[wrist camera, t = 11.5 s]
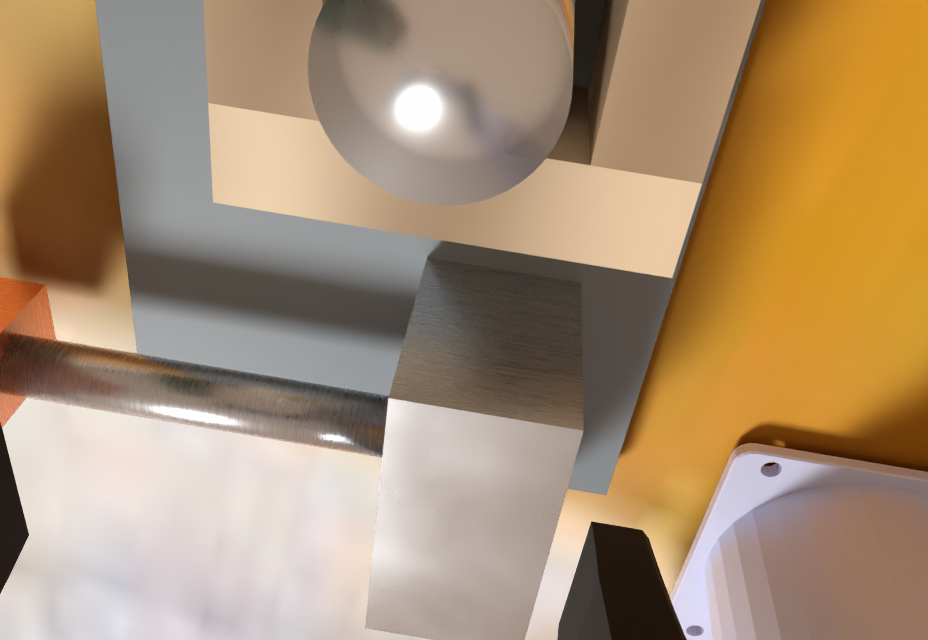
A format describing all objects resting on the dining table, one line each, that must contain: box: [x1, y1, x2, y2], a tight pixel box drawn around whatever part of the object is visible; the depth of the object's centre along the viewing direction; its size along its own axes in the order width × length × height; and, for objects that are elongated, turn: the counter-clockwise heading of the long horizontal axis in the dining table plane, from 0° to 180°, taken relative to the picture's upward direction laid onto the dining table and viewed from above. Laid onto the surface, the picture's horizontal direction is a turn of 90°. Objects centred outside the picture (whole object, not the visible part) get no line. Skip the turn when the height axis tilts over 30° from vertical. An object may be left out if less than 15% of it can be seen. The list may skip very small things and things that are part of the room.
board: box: [95, 0, 766, 495], centre depth 18 cm, size 12×18×1 cm
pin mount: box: [365, 257, 584, 640], centre depth 19 cm, size 4×7×5 cm, turn 173°
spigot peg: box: [308, 0, 575, 205], centre depth 13 cm, size 3×3×7 cm
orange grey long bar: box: [0, 277, 389, 457], centre depth 19 cm, size 13×2×4 cm, turn 83°
